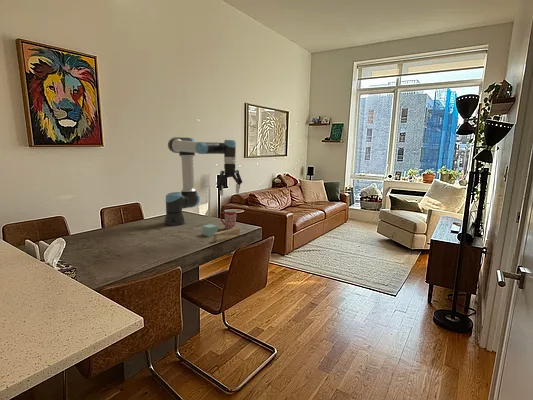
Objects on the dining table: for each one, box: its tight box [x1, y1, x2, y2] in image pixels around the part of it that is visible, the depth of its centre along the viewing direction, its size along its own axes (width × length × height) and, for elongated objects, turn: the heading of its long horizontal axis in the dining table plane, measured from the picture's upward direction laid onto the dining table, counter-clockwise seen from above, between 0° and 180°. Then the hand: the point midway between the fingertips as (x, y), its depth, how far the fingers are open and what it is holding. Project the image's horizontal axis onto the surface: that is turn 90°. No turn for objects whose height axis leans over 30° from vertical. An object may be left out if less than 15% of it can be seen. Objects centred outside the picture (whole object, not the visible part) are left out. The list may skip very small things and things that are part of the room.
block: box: [201, 223, 218, 237], centre depth 215 cm, size 7×7×6 cm
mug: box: [219, 209, 238, 230], centre depth 230 cm, size 13×9×14 cm
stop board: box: [213, 226, 241, 243], centre depth 207 cm, size 5×20×5 cm, turn 141°
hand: (229, 194), depth 217 cm, fingers open, 13 cm apart
